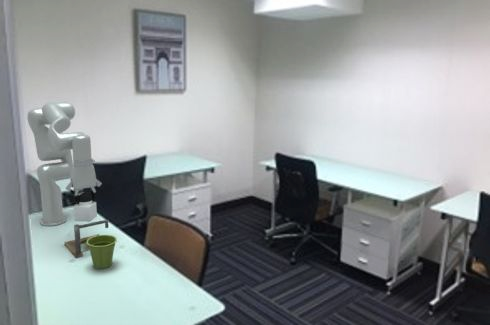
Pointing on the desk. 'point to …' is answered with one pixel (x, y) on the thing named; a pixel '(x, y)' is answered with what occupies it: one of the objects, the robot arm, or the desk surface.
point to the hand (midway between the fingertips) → (85, 201)
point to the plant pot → (102, 250)
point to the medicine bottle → (85, 208)
